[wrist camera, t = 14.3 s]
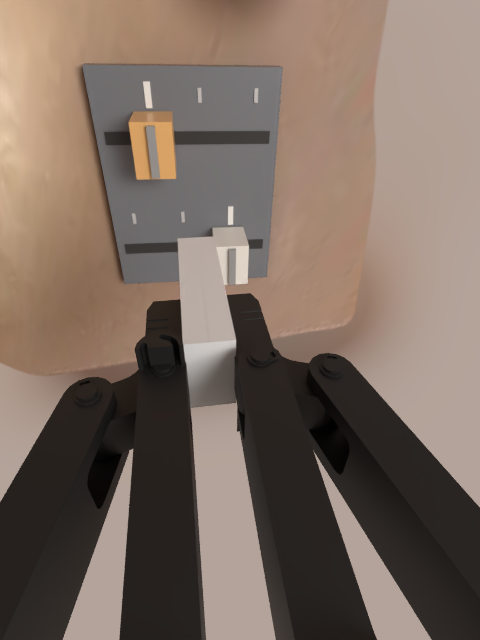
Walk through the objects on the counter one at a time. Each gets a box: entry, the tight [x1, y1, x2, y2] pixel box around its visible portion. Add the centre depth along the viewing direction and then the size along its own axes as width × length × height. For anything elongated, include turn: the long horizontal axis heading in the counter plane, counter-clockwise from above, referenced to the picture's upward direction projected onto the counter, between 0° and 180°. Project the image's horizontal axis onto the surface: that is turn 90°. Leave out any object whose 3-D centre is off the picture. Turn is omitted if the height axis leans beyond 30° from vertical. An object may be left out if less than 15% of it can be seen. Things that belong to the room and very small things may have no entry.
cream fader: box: [212, 227, 249, 285], centre depth 37 cm, size 3×4×4 cm
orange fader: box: [129, 111, 176, 180], centre depth 30 cm, size 3×4×4 cm
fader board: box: [82, 63, 283, 284], centre depth 35 cm, size 15×19×1 cm
